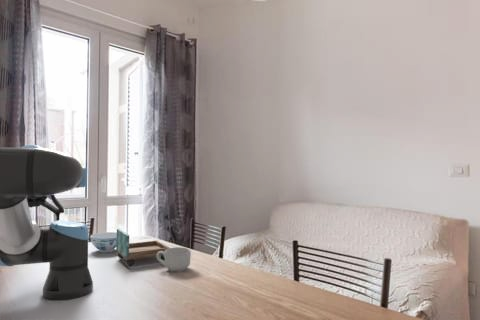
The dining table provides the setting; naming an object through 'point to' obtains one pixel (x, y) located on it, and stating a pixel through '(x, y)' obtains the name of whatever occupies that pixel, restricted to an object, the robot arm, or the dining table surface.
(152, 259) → the track mat
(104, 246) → the chinaware
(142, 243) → the cart
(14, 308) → the dining table surface
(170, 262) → the teacup
